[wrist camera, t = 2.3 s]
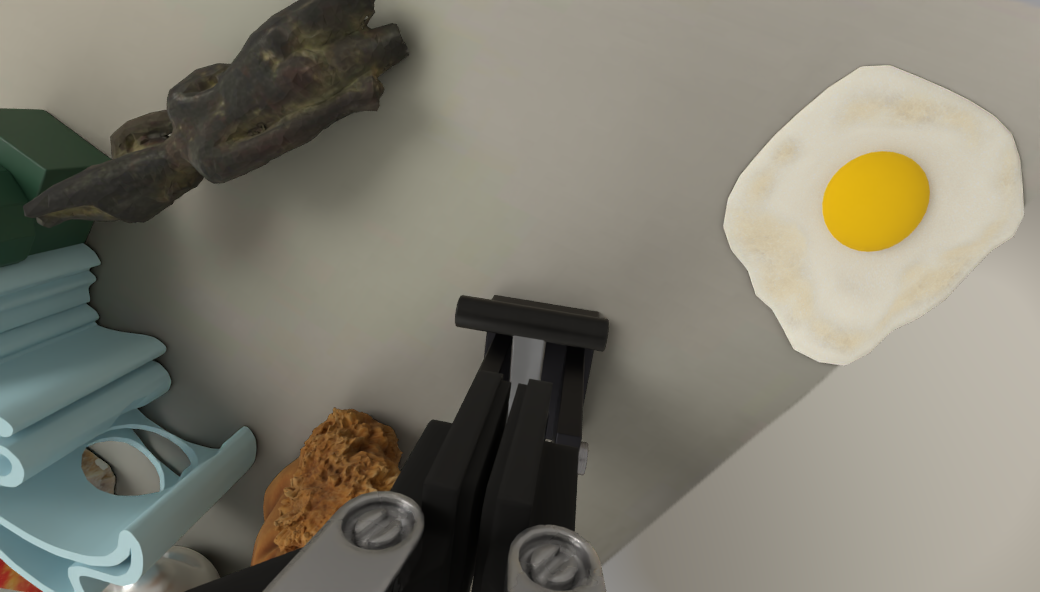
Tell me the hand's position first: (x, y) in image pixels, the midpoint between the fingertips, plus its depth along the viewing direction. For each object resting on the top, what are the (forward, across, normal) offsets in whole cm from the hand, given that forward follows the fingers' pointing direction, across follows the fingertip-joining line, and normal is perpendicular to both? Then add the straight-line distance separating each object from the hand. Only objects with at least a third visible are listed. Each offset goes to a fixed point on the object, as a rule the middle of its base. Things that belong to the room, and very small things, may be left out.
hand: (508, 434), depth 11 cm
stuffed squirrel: (+18, +11, +17) cm, 27 cm away
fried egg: (+18, -15, -4) cm, 23 cm away
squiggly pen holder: (+18, +26, +13) cm, 34 cm away
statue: (+18, +17, -4) cm, 25 cm away
